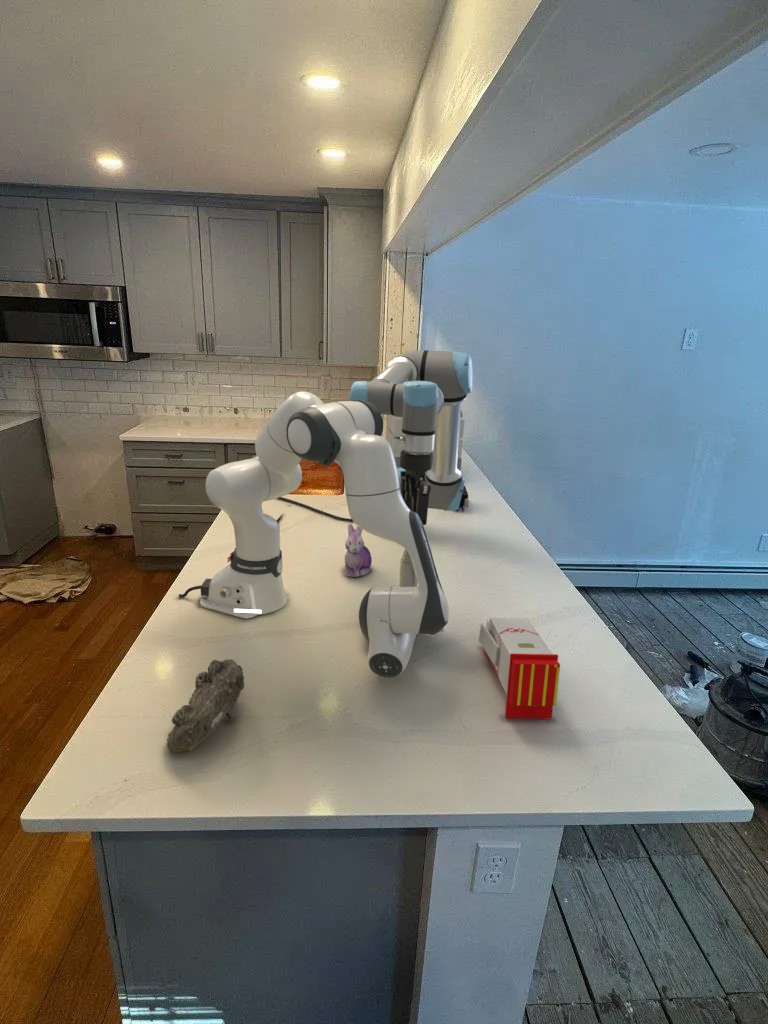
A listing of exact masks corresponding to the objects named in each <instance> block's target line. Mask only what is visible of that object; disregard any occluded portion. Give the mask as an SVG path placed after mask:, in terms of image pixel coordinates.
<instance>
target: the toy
mask: <svg viewBox="0 0 768 1024" xmlns="http://www.w3.org/2000/svg"><path fill="white" fill-rule="evenodd" d="M478 642H479V644H480V645H481V647H482V649H483V651H484V653H485V655H486V656H487V659H488V661H489V662H490V664H491V666H492V667H493V669H494V671H495V673H496V675H497V678H498V679H499V682H500V684H501V686H502V688H503V690H504V692H505V694H506V695H505V696H506V701H505V711H504V717H505V719H535V720H536V719H537V720H538V719H539V720H540V719H541V720H552V719H553V710H554V707H556V706H557V699H558V691H559V682H560V681H559V679H560V670H561V664H560V662H559V655H558V654H555V653H552V651H551V649H550V648H549V647H548V645H547V643H545V641H544V640H543V638H542V637H541V636H540V634H539V633H538V631H537V630H536V628H535V626H534V625H533V623H532V622H531V621H530V620H529V618H528V617H493V616H492V617H489V619H486V623H485V624H484V623H482V622H481V623H480V627H479V635H478Z"/></svg>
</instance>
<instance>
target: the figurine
mask: <svg viewBox="0 0 768 1024" xmlns="http://www.w3.org/2000/svg"><path fill="white" fill-rule="evenodd" d="M363 531H364V530H363V529H361V528H360V527H359V526H357V527H356V528H354V526H353V525H352V523H349V524H347V534H348V536H347V538H346V539H345V544H344V545H345V549H346V550H347V551H346V553H345V555H344V564H345V565H344V568H343V571H344V573H345V576H348V577H351V578H352V577H353V578H358V577H361V576H365V575H366V574H369V573H370V572H371V568H372V564H373V563H372V562H373V559H372V558H373V557H372V554H371V551H370V549H369V548H368V547H367V546H366V545H365V541H364V539H363V537H362V533H363Z"/></svg>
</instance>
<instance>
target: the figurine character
mask: <svg viewBox="0 0 768 1024" xmlns="http://www.w3.org/2000/svg"><path fill="white" fill-rule="evenodd" d="M469 505H470V500H469V492H468V490H467V488H466V485H464V487H463V492H462V496H461V500H460V505H459V508H458V509H461V511H462V512H464V511H465V508H469ZM458 509H457V510H455V511H456V512H457V511H458Z"/></svg>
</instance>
